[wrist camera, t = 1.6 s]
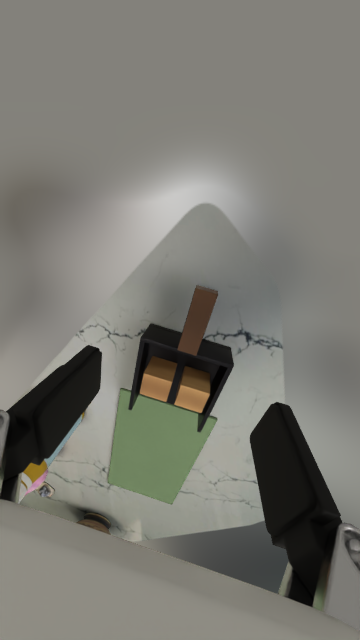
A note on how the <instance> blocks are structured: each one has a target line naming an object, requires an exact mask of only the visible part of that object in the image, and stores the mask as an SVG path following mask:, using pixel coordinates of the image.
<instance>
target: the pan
mask: <svg viewBox="0 0 360 640" xmlns="http://www.w3.org/2000/svg"><path fill="white" fill-rule="evenodd" d="M217 296H218V291H216V290H212V289H209V288H205V287H202V286H198V285H196V288H195V291H194V295H193V298H192V302H191V305H190V308H189V312H188V315H187V318H186V322H185V325H184V329H183V332H182V333H180V332H177V331H174V330H170V329H167V328H164V327H160V326H157V325H154V324H150V325H149V327H148V328H147V329H146V331H145V332H144V334H143V335H142V336H141V339H140V345H139V351H138V356H137V362H136V368H135V373H134V379H133V385H132V390H131V396H130V402H129V407H128V410H131V411H132V409H133V406H134V404H135V402H136V400H137V398H138V396H139V394H140V389H141V384H142V379H143V375H144V372H145V370H146V368H147V366H148V364H149V362H150V360H151V358H152V356H155V357H158V358H161V359H165V360H168V361H171V362H174V363H177V367H176V371H175V374H174V378H173V382H172V385H171V388H170V391H169V395H168V398H167V401H166V403H169V404H173V405H174V403H175V399H176V394H177V390H178V385H179V382H180V379H181V376H182V373H183V370H184V367H185V366H187V367H191V368H194V369H197V370H200V371H204V372H207V373H210V395H209V397H208V399H207V402H206V404H205V406H204V408H203V410H202V412H201V413H199V412H198V426H197V432H199V433H201V431H202V429H203V427H204V425H205V423H206V421H207V419H208V417H209V415H210V413H211V411H212V409H213V407H214V405H215V403H216V401H217V399H218V397H219V395H220V393H221V391H222V389H223V387H224V385H225V383H226V381H227V379H228V377H229V375H230V373H231V371H232V368H233V366H234V363H233V358H232V352H231V348H230V347H227V346H223V345H220V344H217V343H213V342H210V341H207V340H203V339H202V338H203V335H204V332H205V330H206V327H207V324H208V321H209V319H210V316H211V313H212V310H213V308H214V305H215V302H216V299H217ZM141 395H142V394H141ZM144 396H145V395H144ZM147 397H148V396H147ZM151 398H152V397H151ZM154 399H155V398H154ZM157 400H158V399H157ZM160 401H161V400H160ZM163 402H164V401H163ZM176 406H177V405H176ZM179 407H180V406H179ZM182 408H183V407H182ZM185 409H186V408H185ZM188 410H189V409H188ZM192 411H193V410H192ZM195 412H196V411H195Z"/></svg>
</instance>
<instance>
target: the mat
mask: <svg viewBox="0 0 360 640" xmlns="http://www.w3.org/2000/svg"><path fill="white" fill-rule="evenodd" d="M130 396H131V391H130V390H127V389H123V388H121V389H120V396H119V403H118V410H117V418H116V425H115V432H114V440H113V447H112V454H111V462H110V469H109V476H108V483H109V484H112V485H115V486H118V487H121V488H124V489H127V490H130V491H133V492H136V493H139V494H142V495H145V496H148V497H151V498H154V499H157V500H160V501H163V502H165V503H168V504H171V505H172V503H173V502H174V500H175V498H176V496H177V494H178V492H179V490H180V489H181V487H182V485H183V483H184V481H185V479H186V477H187V476H188V474H189V472H190V470H191V468H192V466H193V464H194V462H195V461H196V459H197V457H198V455H199V453H200V451H201V449H202V448H203V446H204V444H205V442H206V440H207V438H208V436H209V435H210V433H211V431H212V429H213V427H214V425H215V423H216V422H217V418H215V417H212V416H209V417H208V419H207V421H206V423H205V425H204V427H203V429H202V431H201V433H199V432H197V426H198V412H195V411H192V410H188V409H185V408H182V407H179V406H176V405H173V404H169V403H166V402H163V401H160V400H157V399H154V398H151V397H147V396H144V395H141V394H139V396H138V398H137V400H136V402H135V404H134V406H133V409H132V411H131V410H128V407H129V402H130Z"/></svg>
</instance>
